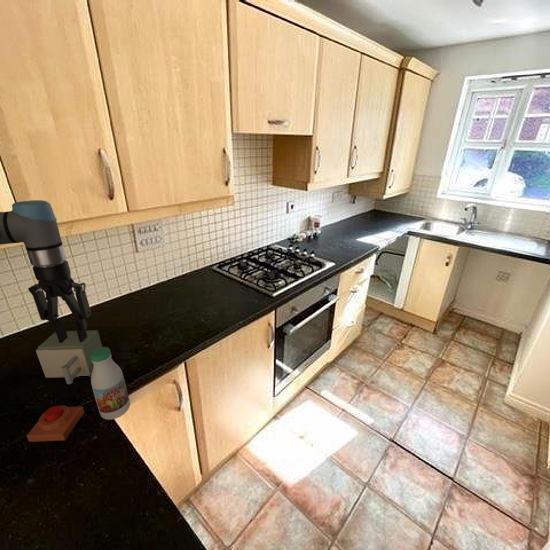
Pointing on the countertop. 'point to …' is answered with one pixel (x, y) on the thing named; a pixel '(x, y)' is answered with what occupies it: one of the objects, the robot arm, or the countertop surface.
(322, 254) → the countertop surface
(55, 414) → the button
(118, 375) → the milk bottle
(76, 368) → the slide door
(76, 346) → the cupboard
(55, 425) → the button box
